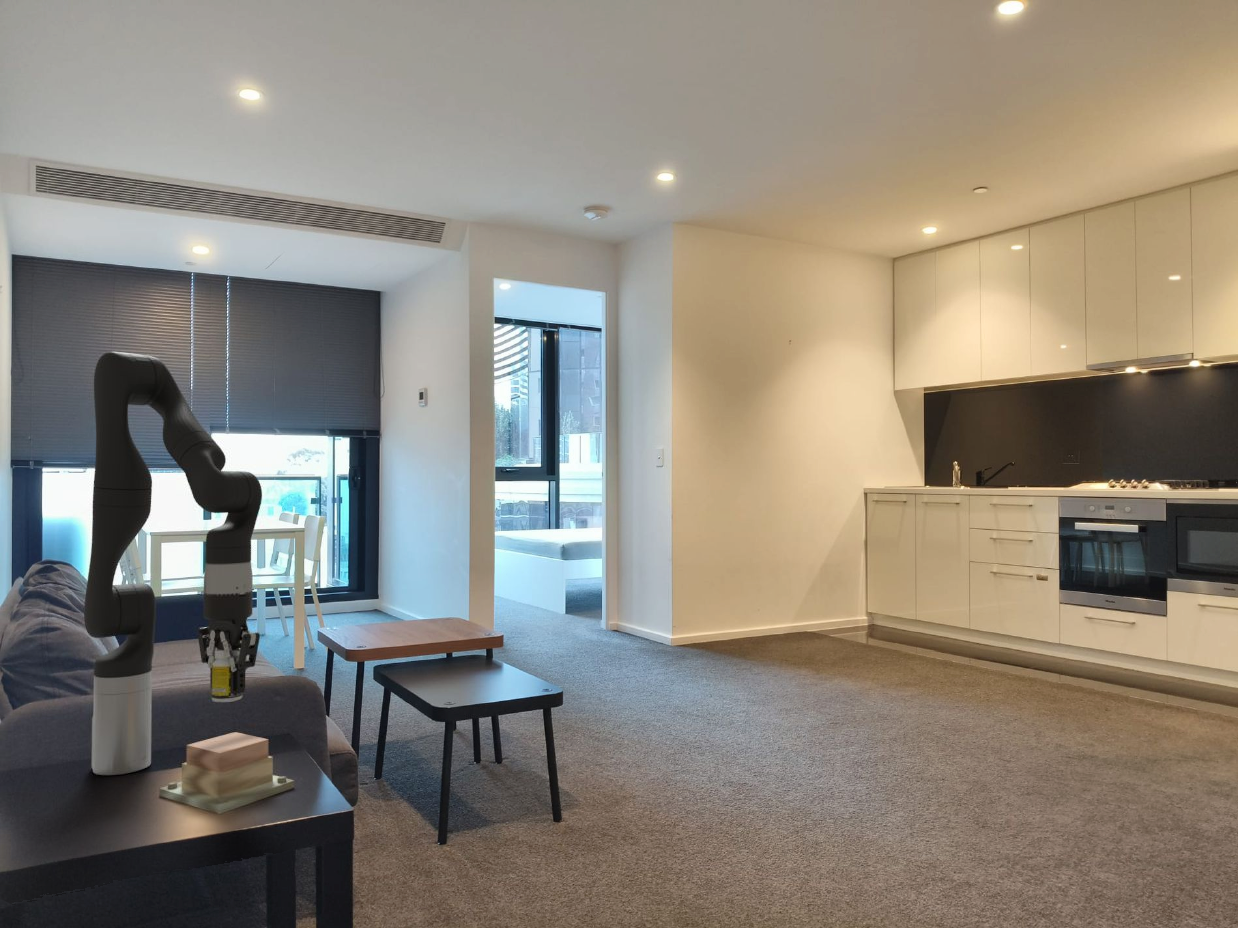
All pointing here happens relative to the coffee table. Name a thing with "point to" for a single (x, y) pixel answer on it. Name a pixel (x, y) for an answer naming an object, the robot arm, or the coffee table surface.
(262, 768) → the stepped pedestal block
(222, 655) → the supplement bottle
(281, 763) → the coffee table surface
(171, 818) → the coffee table surface
